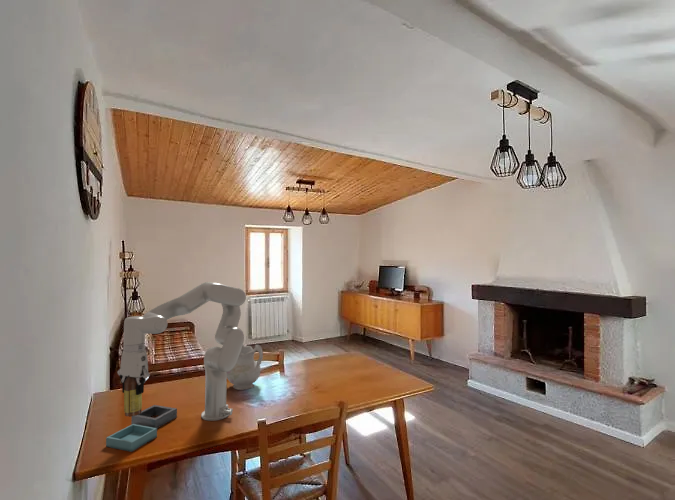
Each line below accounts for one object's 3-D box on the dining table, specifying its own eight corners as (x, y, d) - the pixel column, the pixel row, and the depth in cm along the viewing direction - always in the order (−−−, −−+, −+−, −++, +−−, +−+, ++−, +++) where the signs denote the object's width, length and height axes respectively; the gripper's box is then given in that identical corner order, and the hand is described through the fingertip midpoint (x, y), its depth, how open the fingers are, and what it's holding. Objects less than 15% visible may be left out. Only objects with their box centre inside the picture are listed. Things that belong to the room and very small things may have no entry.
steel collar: (176, 417, 173) (177, 408, 173) (155, 429, 161) (155, 419, 161) (154, 413, 177) (154, 404, 177) (131, 425, 165) (131, 415, 165)
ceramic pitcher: (268, 384, 223) (269, 341, 225) (258, 393, 204) (259, 346, 206) (233, 382, 225) (234, 340, 228) (219, 391, 206) (221, 345, 208)
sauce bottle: (144, 411, 153) (145, 362, 154) (136, 417, 147) (138, 366, 148) (128, 410, 153) (129, 361, 154) (119, 417, 147) (121, 366, 147)
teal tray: (156, 436, 154) (157, 428, 154) (131, 451, 142) (131, 442, 142) (132, 432, 158) (132, 423, 158) (106, 446, 146) (106, 437, 146)
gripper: (158, 347, 152) (157, 392, 151) (125, 344, 157) (124, 387, 157) (143, 351, 145) (142, 398, 144) (109, 347, 150) (108, 393, 149)
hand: (133, 392), depth 150 cm, fingers closed on sauce bottle, 6 cm apart
